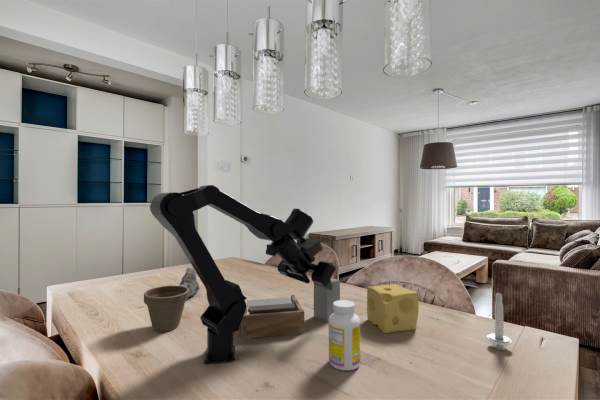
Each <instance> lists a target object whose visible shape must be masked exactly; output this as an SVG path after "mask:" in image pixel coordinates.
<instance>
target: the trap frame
mask: <svg viewBox="0 0 600 400" xmlns="http://www.w3.org/2000/svg"><path fill="white" fill-rule="evenodd" d="M290 300H291V302H292V303H293V304H294V306H295V311H287V312H274V313H261V314H247V313H248V307H247V308H246V311H245V314H244V316H243V318H242V322H241V337H242V338H241V339H254V338H255V339H256V338H262V337H264V338H265V337H275V336H276V337H277V336H287V335H297V334H304V333H305V310H304V308H303V307H302V305H301V304H300V302H299V301H298V299H297V298H296V296H295V295H294V294H290Z"/></svg>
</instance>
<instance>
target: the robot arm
mask: <svg viewBox="0 0 600 400" xmlns="http://www.w3.org/2000/svg"><path fill="white" fill-rule="evenodd" d="M206 206H208V207H211V208H212V209H214V210H216V211H217V212H219V213H222V214H223V215H225V216H227V217H229V218H231V219H233V220H235V221H236V222H238V223H240V224H242V225H244V226H245V227H246V228H247V229H248V231H249V232H250V233H251V234H253V236H255V237H256V238H258V239H260V240H265V241H270V243H269V244H266V250H265V255H267V256H271V257H276V256H279V258H280V259H281V261H280V262H279V263H278V265H277V272H279V274H280V275H283V276H285V277H288V278H291V279H293V280H295V281H299V282H302V283H305V284H308V285H309V283H310V282H311V281H312V283H313V284H314V283H315V285H318V286H320V287H323V288H326V289H328V290H332V288H333V286H332V282H331V278H333V275H334V274H335V271H336V269H337V268H336V265H335V264H334V263H333V262H331V261H325V260H321V261H318V263H317V264H315V263H314V262H315V260H316V257H315V256H316V255H317V254H319V253H320V252H322V251H323V250H324V249H323V246H322V243H321V240H320V239H319V238H314V237H308V238H305V236H306V234H307V233H308V231H309V229H310V228H311V227H312V225H313V224H314V219H313V218H312V216H311V215H308V213H306V212H304V211H301V209H300V208H293V209H292V210H291V213H290V214H289V215H288V217H287V218H286V219H285V221H284V220H282V219H281V218H279V217H278V218H277V217H275V216H272V215H270V214H265V213H262V212H258V211H256V210H255V209H253V208H251V207H249V206H248V205H246V204H245V203H243V202H241V201H240V200H237V198H235V197H233V196H231V195H229V194H227V193H226V192H224V191H223V190H220V189H219V188H218V186H216V185H214V184H213V185H212V184H209V185H207V184H206V185H201V186H199V187H197V188H193V189H190V190H186V191H182V192H174V191H173V192H161V193H159V194H156V196H154V197H153V199H152V200H151V203H150V205H149V210H150V212H151V214H152V215H153V217H154V218H155V219H156V220H157V222H159V223H160V225H161V226H162V227H164V229H165V230H167V232H169V233H170V234H171V235H172V236H173V237H174V238H175V240H176V242H177V243H178V245H179V246H180V248H181V249H182V252H183V253H184V254H185V256H186V258H187V259H188V261H189V263H190V264H191V266H192V268H194V270H195V274H196V276H198V278H199V279H200V281H201V283H202V285H203V286H204V288H205V290H206V299H207V302H208V306H207V307H206V308H205V310H204V312H203V313H202V314H201V315H200V319H199V320H200V321H201V323H202V325H203V326H205V327H207V330H206V334H207V335H206V338H207V339H206V344H207V345H206V349H205V355H204V360H203V363H204V364H215V363H224V362H234V361H236V345H235V344H234V333H236V332H239V330H240V328H241V326H242V324H241V322H242V318H243V316H244V314H245V311H246V308H247V309H248V307H247V298H248V297H246V296H245V295H244V293H243V292H242V288H241V287H240V285H239V284H238V283H235V282H233V281H231V280H228V279H225V278H224V276H223V274H222V272H221V271H220V268H219V267H218V265H217V264H216V261H215V260H214V258H213V257H212V255H211V253H210V251H209V250H208V248H207V246H206V244H205V242H204V241H203V239H202V237H201V234H199V232H198V231H197V228H196V221H195V214H194V212H195V211H198V210H200V209H202V208H204V207H206ZM307 273H311V277H310V278H311V280H310V279H309V277H308V275H307Z"/></svg>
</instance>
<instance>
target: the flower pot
mask: <svg viewBox="0 0 600 400" xmlns="http://www.w3.org/2000/svg"><path fill="white" fill-rule="evenodd" d="M188 299H189V289H188V288H187V287H184V286H179V285H162V286H157V287H152V288H150V289H147V290H145V292H144V293H143V303H144V304H145V305H146V306H147V310H148V314H149V318H150V323H151V325H152V326H151V327H152V329H153V330H154V331H155V332H159V333H160V332H161V333H162V332H163V333H165V332H170V331H172V330H173V331H174V330H175V329H176V328H178V327H179V326H180V322H181V320H182V316H183V311H184V307H185V304H186V301H187V300H188Z"/></svg>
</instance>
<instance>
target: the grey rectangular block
mask: <svg viewBox="0 0 600 400" xmlns="http://www.w3.org/2000/svg"><path fill="white" fill-rule="evenodd" d="M331 282H332V286H333V288H332V290H328V289H326V288H323V287H320V286H318V285H315V283H314V282H313V317H314V318H316V319H319V320H321V321H324V322H327V323H329V317H330V315H331V314H333V313H334V310H333V302H335V301H338V300H341V280H340V279H336V278H333V277H331Z"/></svg>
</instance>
